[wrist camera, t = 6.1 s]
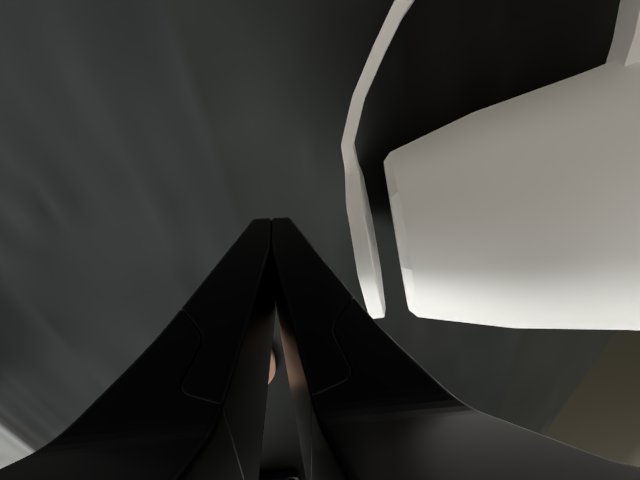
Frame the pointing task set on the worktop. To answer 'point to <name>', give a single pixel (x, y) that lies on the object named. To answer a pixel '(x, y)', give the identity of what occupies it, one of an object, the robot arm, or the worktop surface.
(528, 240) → the cup
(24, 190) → the worktop surface
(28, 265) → the worktop surface
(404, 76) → the worktop surface
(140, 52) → the worktop surface
